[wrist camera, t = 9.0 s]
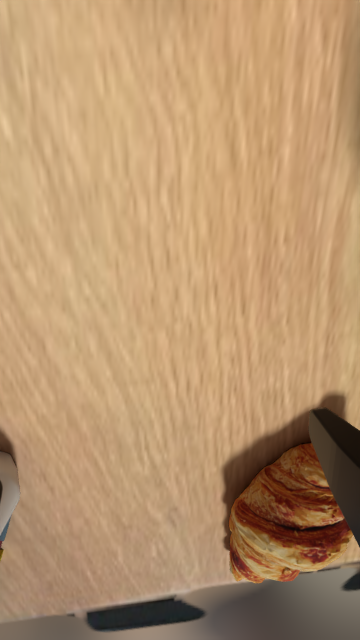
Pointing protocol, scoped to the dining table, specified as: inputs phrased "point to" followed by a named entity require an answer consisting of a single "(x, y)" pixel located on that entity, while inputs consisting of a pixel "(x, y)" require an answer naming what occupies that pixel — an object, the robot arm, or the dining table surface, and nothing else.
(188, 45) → the dining table surface
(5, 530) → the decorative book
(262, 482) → the croissant
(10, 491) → the salt shaker
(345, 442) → the robot arm
